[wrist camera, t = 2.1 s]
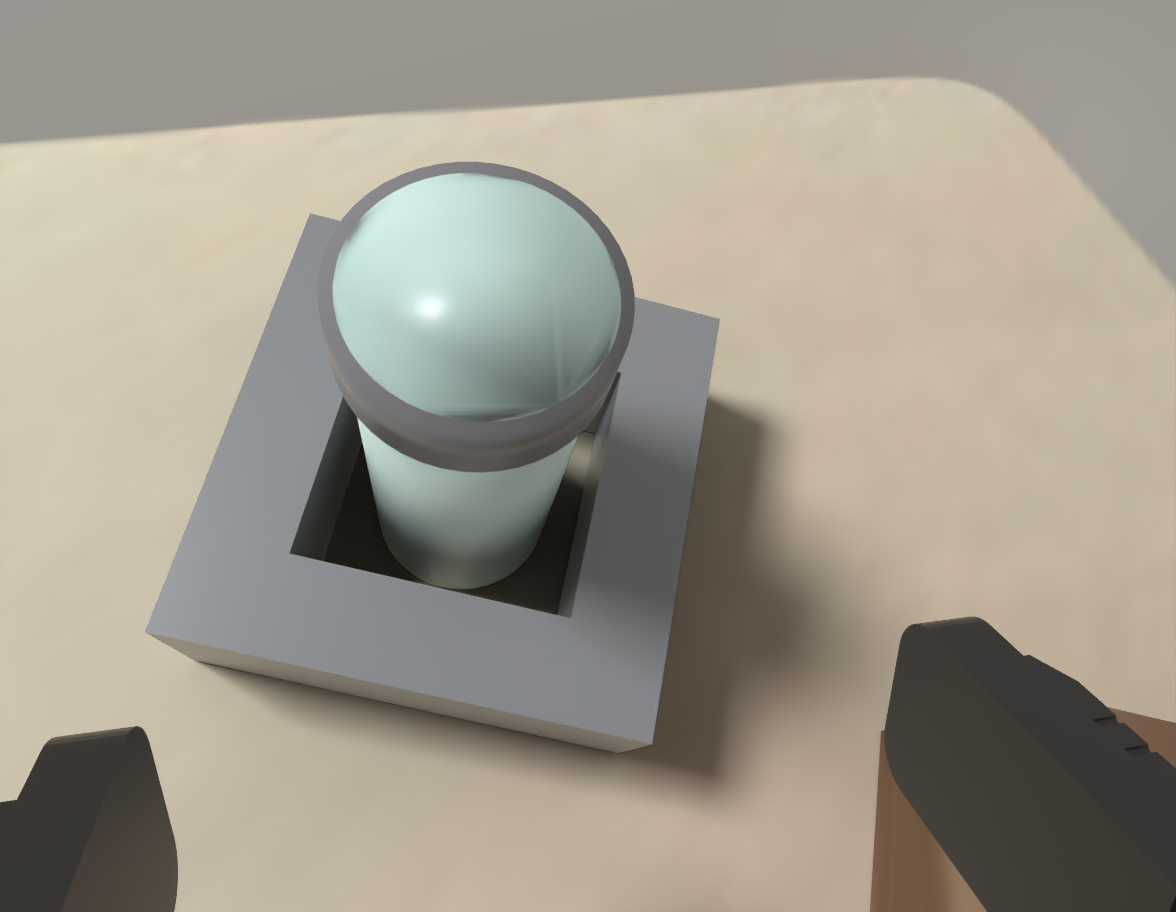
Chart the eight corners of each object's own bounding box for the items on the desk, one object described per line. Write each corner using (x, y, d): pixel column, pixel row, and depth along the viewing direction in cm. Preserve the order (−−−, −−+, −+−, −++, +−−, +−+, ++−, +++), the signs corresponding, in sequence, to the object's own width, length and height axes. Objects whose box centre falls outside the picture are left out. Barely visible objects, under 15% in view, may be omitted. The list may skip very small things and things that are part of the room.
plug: (346, 573, 20) (271, 389, 11) (398, 407, 22) (370, 129, 13) (530, 616, 21) (603, 471, 12) (568, 448, 23) (658, 205, 13)
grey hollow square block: (194, 660, 19) (145, 631, 16) (328, 295, 23) (309, 213, 20) (617, 753, 20) (652, 744, 17) (681, 384, 24) (719, 319, 20)
